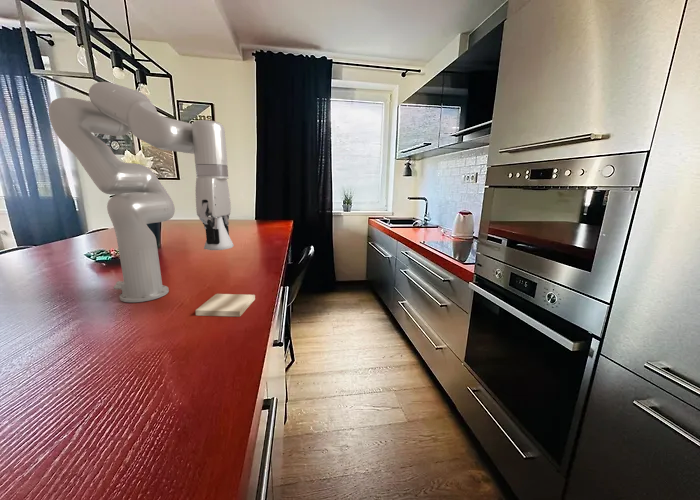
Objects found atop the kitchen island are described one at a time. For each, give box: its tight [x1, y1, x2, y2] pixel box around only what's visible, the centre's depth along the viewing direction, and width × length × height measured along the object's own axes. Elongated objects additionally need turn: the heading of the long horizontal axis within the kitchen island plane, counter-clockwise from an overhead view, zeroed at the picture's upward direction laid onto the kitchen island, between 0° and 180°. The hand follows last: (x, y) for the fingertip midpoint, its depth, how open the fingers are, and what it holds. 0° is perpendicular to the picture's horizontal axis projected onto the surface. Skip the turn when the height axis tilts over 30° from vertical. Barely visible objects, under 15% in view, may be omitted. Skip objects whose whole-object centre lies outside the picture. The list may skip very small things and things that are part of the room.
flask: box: [203, 215, 235, 251], centre depth 79 cm, size 7×7×10 cm
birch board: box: [195, 293, 256, 318], centre depth 85 cm, size 12×12×2 cm
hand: (218, 241), depth 80 cm, fingers closed on flask, 4 cm apart
